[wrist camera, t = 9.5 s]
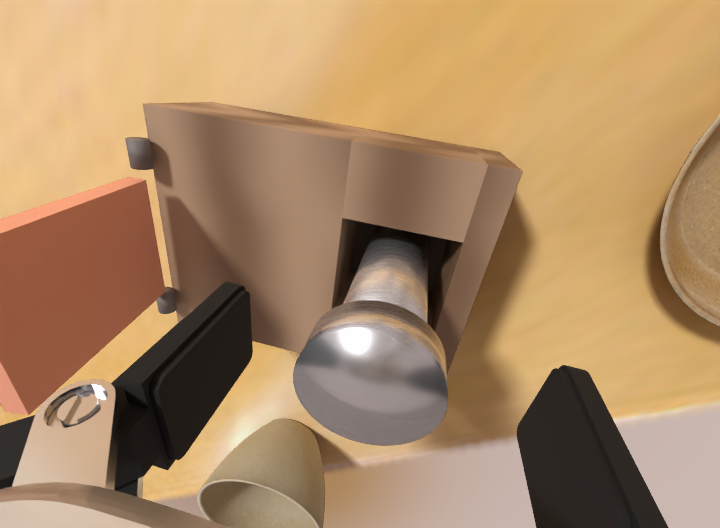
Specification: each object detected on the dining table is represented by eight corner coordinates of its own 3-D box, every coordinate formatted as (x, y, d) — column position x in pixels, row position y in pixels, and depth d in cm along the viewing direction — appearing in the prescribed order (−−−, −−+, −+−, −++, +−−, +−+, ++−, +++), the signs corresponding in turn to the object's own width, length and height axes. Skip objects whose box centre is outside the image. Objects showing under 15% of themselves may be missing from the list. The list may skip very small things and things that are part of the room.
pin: (447, 214, 18) (468, 354, 8) (428, 283, 20) (427, 460, 10) (367, 199, 19) (296, 314, 9) (357, 268, 21) (290, 423, 11)
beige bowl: (304, 480, 34) (276, 566, 28) (226, 427, 33) (178, 506, 26) (365, 445, 30) (347, 538, 23) (277, 381, 28) (233, 463, 22)
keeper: (127, 177, 14) (145, 180, 14) (150, 289, 17) (165, 291, 17) (-90, 249, 8) (-57, 254, 8) (4, 411, 11) (28, 415, 11)
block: (499, 152, 17) (530, 177, 11) (439, 332, 22) (442, 404, 17) (204, 101, 18) (112, 102, 13) (218, 279, 24) (158, 331, 19)
